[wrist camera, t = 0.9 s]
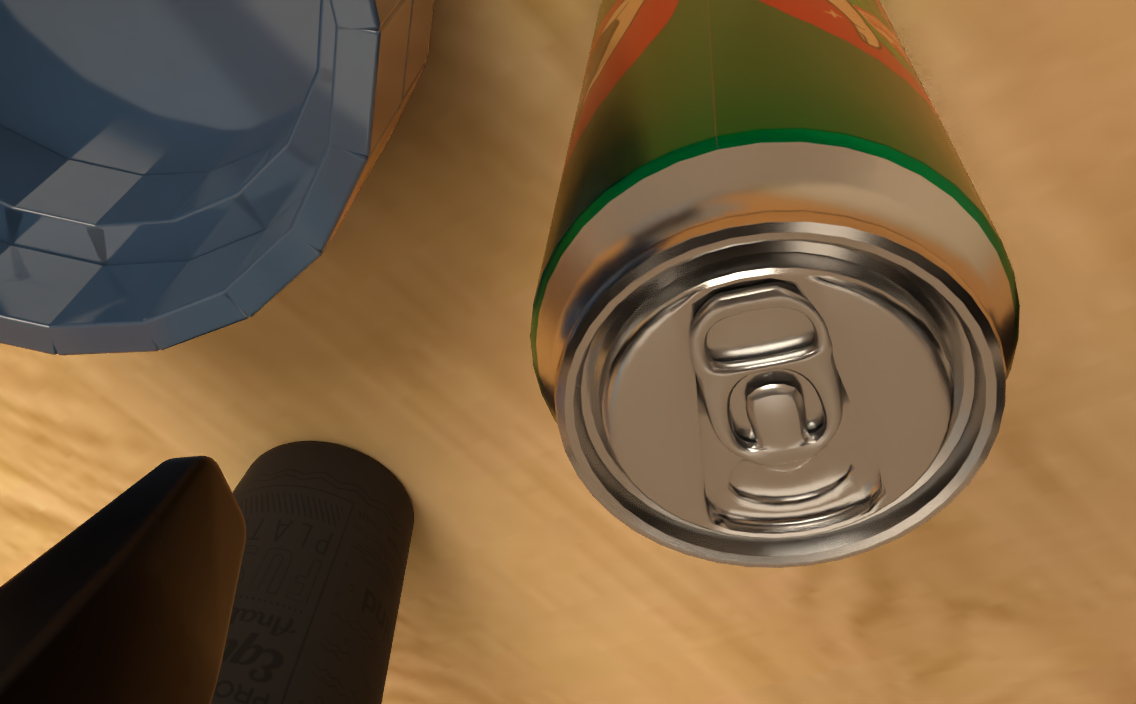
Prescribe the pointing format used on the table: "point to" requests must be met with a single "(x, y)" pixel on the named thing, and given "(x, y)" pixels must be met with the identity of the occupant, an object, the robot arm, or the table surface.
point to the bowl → (183, 156)
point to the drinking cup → (316, 578)
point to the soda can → (768, 284)
